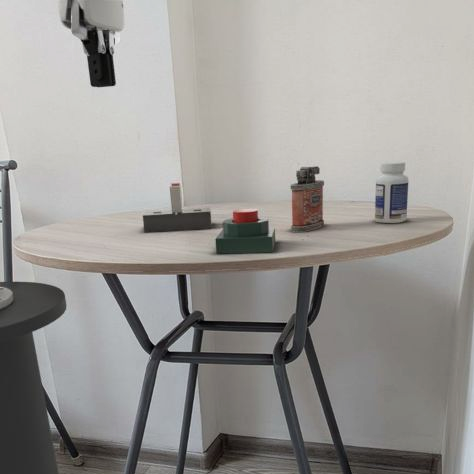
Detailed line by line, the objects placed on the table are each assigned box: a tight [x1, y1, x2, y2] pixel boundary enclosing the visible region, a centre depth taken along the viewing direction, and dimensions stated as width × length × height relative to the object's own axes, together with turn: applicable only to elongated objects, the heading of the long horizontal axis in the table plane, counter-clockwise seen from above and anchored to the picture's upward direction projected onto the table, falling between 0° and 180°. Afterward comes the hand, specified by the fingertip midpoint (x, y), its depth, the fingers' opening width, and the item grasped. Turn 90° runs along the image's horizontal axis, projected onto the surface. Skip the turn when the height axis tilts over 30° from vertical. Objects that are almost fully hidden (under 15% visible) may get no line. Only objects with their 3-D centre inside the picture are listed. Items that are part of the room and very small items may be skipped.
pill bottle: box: [374, 161, 409, 224], centre depth 100 cm, size 5×5×10 cm
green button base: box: [215, 216, 276, 255], centre depth 85 cm, size 8×8×4 cm
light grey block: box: [169, 182, 184, 213], centre depth 105 cm, size 4×2×5 cm, turn 3°
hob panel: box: [142, 207, 212, 233], centre depth 106 cm, size 9×12×3 cm
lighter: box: [290, 165, 325, 233], centre depth 98 cm, size 8×3×10 cm, turn 143°
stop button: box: [232, 208, 259, 223], centre depth 84 cm, size 4×4×2 cm
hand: (103, 86), depth 83 cm, fingers closed
